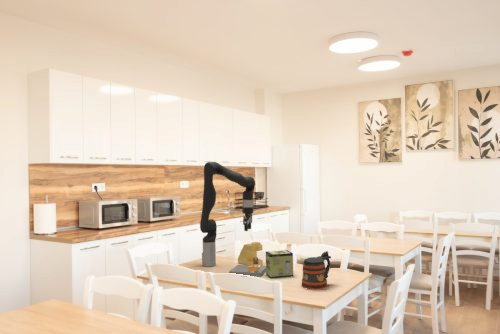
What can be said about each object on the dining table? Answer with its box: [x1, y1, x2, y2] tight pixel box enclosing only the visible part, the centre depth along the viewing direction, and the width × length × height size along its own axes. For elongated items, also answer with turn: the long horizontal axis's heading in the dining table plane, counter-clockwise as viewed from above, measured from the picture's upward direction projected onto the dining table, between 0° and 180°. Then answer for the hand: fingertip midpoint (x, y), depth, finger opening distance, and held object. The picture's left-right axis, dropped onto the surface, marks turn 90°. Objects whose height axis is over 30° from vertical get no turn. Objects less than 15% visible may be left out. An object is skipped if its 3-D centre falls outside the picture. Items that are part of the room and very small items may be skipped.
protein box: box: [265, 249, 294, 279], centre depth 271 cm, size 10×16×16 cm
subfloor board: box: [228, 264, 266, 278], centre depth 280 cm, size 21×19×3 cm
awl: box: [253, 256, 259, 266], centre depth 280 cm, size 3×3×10 cm
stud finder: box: [248, 265, 259, 272], centre depth 273 cm, size 6×4×3 cm, turn 75°
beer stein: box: [301, 250, 332, 290], centre depth 244 cm, size 19×15×20 cm
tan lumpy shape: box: [237, 241, 264, 266], centre depth 307 cm, size 20×9×16 cm, turn 40°
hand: (247, 230), depth 287 cm, fingers open, 8 cm apart
